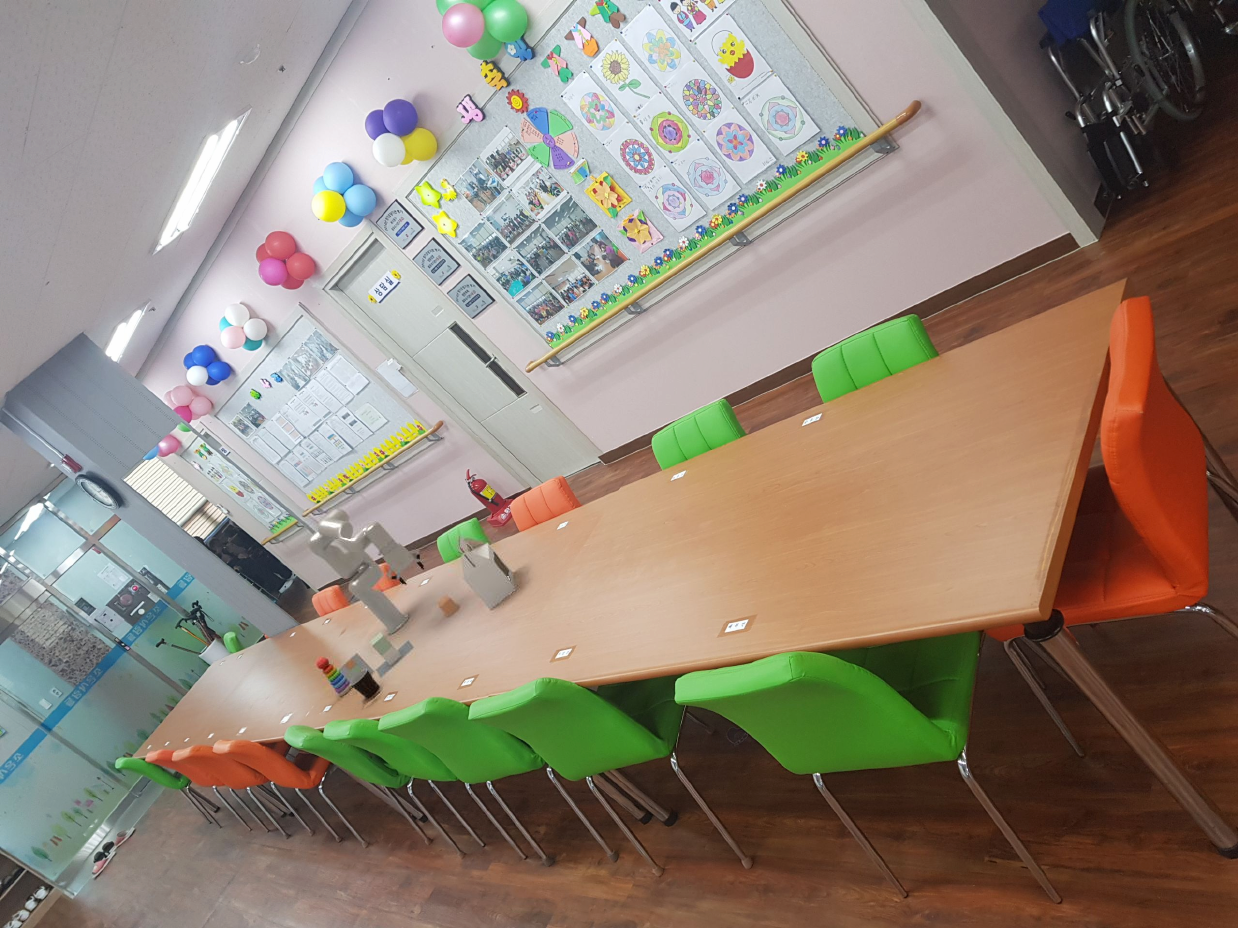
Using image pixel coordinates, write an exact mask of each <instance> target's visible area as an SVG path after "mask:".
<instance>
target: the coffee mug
mask: <svg viewBox="0 0 1238 928" xmlns="http://www.w3.org/2000/svg"><path fill="white" fill-rule="evenodd" d="M350 685H351V686H352V688H353V689H354V690H356V692H358V693H359V694H361V695H362V696H364V698H366V699H369V698H371V697H372V698H371V699H370V701H372V700H373V699H375V698H376V697H377V696H378V695H379V694H380V693H381V691H379V689H380V685H379V683H378V682H377V681H376V679H374V677H373V675H372V673H371V674H370V673H369V671H368V670H367V669H365V670H363V671H361V672H360V673H358V674H357V675H356V676H355V677H354V678H353V680H352V681H351V683H350ZM377 692H378V693H377Z"/></svg>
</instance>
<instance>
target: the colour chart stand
mask: <svg viewBox="0 0 1238 928" xmlns="http://www.w3.org/2000/svg"><path fill="white" fill-rule="evenodd" d="M365 669H367V670H368V671H369V673H370V674H371V675H372V674H373V672H374V671H375V670H374V669H373V668H372V667H371V666H370V665H369V664H368V663H367V662H366V661H365V660H364V659H363V658H362V657H361V655H359V654H358V653H357V652H355V653H354V654H353V655H352V656H351V657H350V658H348V659H347V660H346V661H345V662H344V663H343V664H342V665H341V666H339V667H338V668H337V670H339V671H340V673H342V674H343V675H344V677H345V678H346V679H347V680H348V681H349V682H350V683H351V681H352V680H353V678H354V677H355V676H356V675H357V674H358V673H360V672H361V671H363V670H365Z"/></svg>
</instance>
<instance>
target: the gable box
mask: <svg viewBox="0 0 1238 928" xmlns="http://www.w3.org/2000/svg"><path fill="white" fill-rule="evenodd" d="M457 553H459V554H462V555H461V557H460V558H461V566H462V575H463V576H462V579H463V581H464V582H466V584H467V585H468V586H469V587H470V588H471V590H472V591H473V592H474V594H476V595H477V596H478V599H480V600H481V601H482V603H483V604H485V606H486V607H487V609H489V610H492V609H494V608H495V607H496V606H498V605H499V604H500V603H502V600H503V599H504V598H505V597H507V596H508V595H509V594H510V593H511V592H513V591H514V590H516V591H517V588H515V587H516V582H515V577H514V578H513V576H514V572H513V571H512V570H511V568H510V567H509V566H508V565H507V564H506V562H505V561H504V560H503V559H502V558H501V557H500V556H499V554H498V553H497V552H496V551H495V550H494V548H493V547H492V546H491V545H490V544H489V542H485V541H480V540H477V539H473V538H470V537H469V538H465V539H464V538H463V536H462V535H459V537H458V539H457ZM507 576H509V578H510V580H509V579H508V577H507ZM514 582H515V583H514ZM513 593H514V592H513ZM509 596H510V595H509ZM509 596H508V597H509ZM508 597H507V598H508ZM505 599H506V598H505ZM505 599H504V600H505ZM504 600H503V601H504ZM498 603H499V604H498ZM497 604H498V605H497ZM494 606H495V607H494ZM493 607H494V608H493Z"/></svg>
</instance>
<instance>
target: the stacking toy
mask: <svg viewBox="0 0 1238 928" xmlns="http://www.w3.org/2000/svg"><path fill="white" fill-rule="evenodd" d="M316 667H317V668H318V669H319V670H322V674H324V676H325V678H326V679H327V681H328V682H329V684H330V685H331V686H332V688H333V689H334V691H335V692H336V693H337V696H339V697H342V696H345V695H346V694H347V693H349V691H351V690H352V688H353V687H352V686H351V685H350V682H349V681H348V680H347V679H346V678H345V677H344V675H343V674H342V673H341V672H340V671H339V670H338V668H337V667H336V666H334V665H333V663H330V661H329V659H328V658H327V657H320V658H319V659H317V661H316Z"/></svg>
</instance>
